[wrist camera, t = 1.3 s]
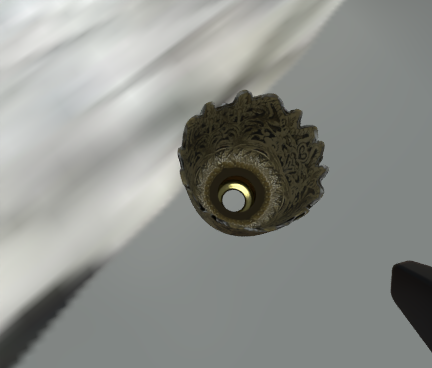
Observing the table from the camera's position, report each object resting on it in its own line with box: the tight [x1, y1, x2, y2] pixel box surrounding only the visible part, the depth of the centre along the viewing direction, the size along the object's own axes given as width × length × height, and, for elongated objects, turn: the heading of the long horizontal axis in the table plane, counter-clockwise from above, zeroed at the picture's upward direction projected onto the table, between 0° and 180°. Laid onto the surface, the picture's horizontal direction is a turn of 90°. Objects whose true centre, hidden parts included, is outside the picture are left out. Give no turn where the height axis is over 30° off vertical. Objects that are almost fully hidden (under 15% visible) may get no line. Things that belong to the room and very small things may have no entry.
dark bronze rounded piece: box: [178, 90, 329, 236], centre depth 20 cm, size 8×7×8 cm
